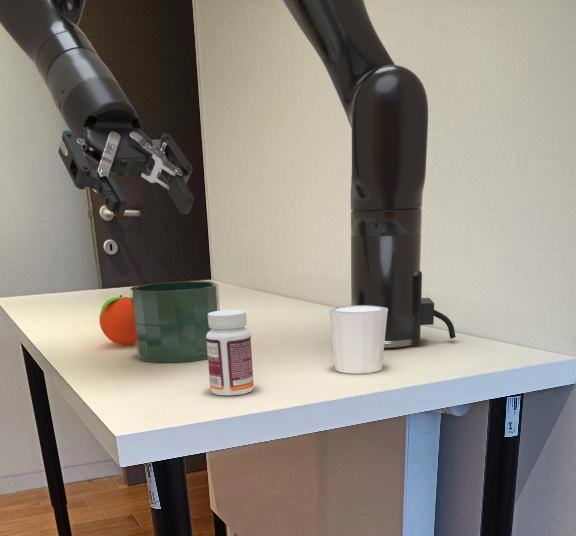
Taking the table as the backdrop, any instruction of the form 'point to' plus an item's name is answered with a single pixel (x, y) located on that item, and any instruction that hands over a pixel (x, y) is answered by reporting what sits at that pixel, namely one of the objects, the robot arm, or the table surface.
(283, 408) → the table surface
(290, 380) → the table surface
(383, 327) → the shot glass
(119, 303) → the clementine
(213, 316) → the pill bottle
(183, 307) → the pot
